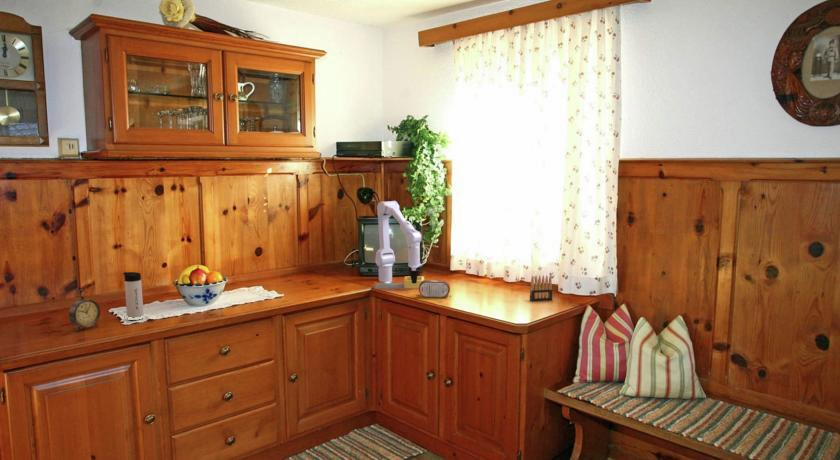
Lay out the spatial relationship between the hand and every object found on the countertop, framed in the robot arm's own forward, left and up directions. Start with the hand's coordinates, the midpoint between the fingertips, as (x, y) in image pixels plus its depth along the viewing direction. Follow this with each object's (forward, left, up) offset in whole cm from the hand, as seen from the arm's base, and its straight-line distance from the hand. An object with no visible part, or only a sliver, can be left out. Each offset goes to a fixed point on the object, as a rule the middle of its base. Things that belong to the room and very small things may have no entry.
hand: (414, 282), depth 298 cm
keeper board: (-4, -7, -4) cm, 9 cm away
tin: (+16, +10, -4) cm, 19 cm away
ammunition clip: (+22, +60, -4) cm, 64 cm away
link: (-4, 0, -3) cm, 5 cm away
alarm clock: (+68, -129, -4) cm, 146 cm away
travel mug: (+54, -116, -4) cm, 128 cm away
